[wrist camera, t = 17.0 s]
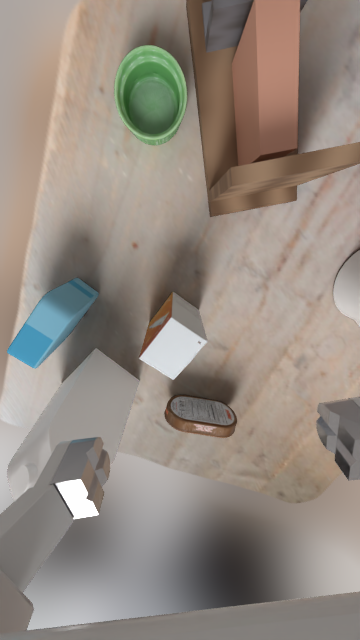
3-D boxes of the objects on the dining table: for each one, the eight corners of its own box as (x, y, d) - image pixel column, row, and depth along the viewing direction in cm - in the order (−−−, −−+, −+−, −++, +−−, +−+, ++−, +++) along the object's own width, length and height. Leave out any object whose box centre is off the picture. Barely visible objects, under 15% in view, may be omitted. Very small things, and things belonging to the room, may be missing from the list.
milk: (104, 412, 52) (44, 572, 28) (61, 383, 49) (-50, 536, 24) (139, 380, 49) (105, 530, 25) (96, 347, 46) (7, 482, 21)
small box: (172, 290, 42) (171, 315, 29) (199, 309, 43) (209, 341, 31) (147, 323, 44) (137, 359, 32) (174, 340, 45) (174, 381, 33)
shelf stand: (292, -18, 28) (429, -305, 13) (290, 201, 36) (370, 183, 22) (186, 6, 28) (199, -241, 13) (210, 216, 37) (233, 209, 22)
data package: (79, 275, 40) (43, 293, 29) (101, 291, 41) (74, 314, 30) (46, 323, 43) (2, 356, 32) (67, 337, 45) (31, 373, 33)
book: (263, 57, 29) (300, -14, 20) (266, 168, 33) (297, 148, 25) (231, 64, 29) (255, -4, 20) (238, 173, 33) (260, 155, 25)
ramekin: (138, 160, 34) (133, 151, 30) (110, 87, 31) (100, 65, 27) (194, 134, 33) (197, 121, 29) (171, 55, 30) (170, 28, 26)
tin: (164, 400, 51) (163, 432, 43) (167, 389, 50) (166, 419, 42) (229, 411, 53) (238, 443, 45) (233, 400, 51) (243, 431, 44)
